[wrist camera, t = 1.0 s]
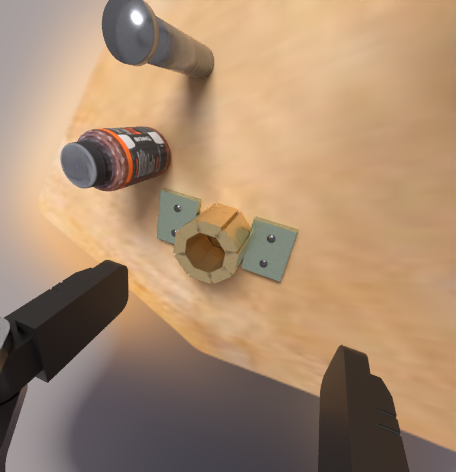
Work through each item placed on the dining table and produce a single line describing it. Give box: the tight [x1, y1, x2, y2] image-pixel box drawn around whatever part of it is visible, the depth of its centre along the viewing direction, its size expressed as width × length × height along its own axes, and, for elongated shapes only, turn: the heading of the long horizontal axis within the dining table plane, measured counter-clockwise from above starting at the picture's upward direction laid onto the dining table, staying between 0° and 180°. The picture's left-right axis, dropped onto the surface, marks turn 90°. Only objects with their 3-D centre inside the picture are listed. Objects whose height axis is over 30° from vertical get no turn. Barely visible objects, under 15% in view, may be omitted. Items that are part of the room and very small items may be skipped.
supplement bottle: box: [61, 127, 170, 191], centre depth 28 cm, size 6×6×11 cm
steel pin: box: [102, 0, 214, 79], centre depth 22 cm, size 4×4×12 cm
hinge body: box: [157, 189, 298, 284], centre depth 32 cm, size 7×18×6 cm, turn 78°
